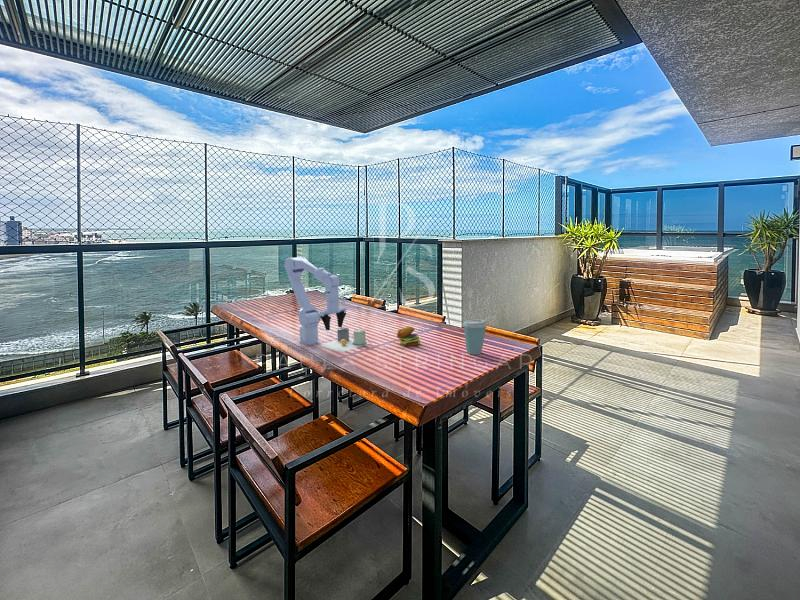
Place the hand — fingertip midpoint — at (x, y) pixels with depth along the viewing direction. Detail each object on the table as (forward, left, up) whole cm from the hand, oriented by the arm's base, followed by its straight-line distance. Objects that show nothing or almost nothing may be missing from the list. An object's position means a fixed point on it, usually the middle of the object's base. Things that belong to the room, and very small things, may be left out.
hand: (334, 328), depth 181 cm
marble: (+2, +4, -7) cm, 9 cm away
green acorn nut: (+6, +11, -9) cm, 15 cm away
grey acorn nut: (-5, +10, -9) cm, 14 cm away
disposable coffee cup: (+57, +34, -10) cm, 67 cm away
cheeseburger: (+25, +26, -10) cm, 37 cm away
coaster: (+6, +11, -9) cm, 15 cm away
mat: (+1, +6, -9) cm, 11 cm away
